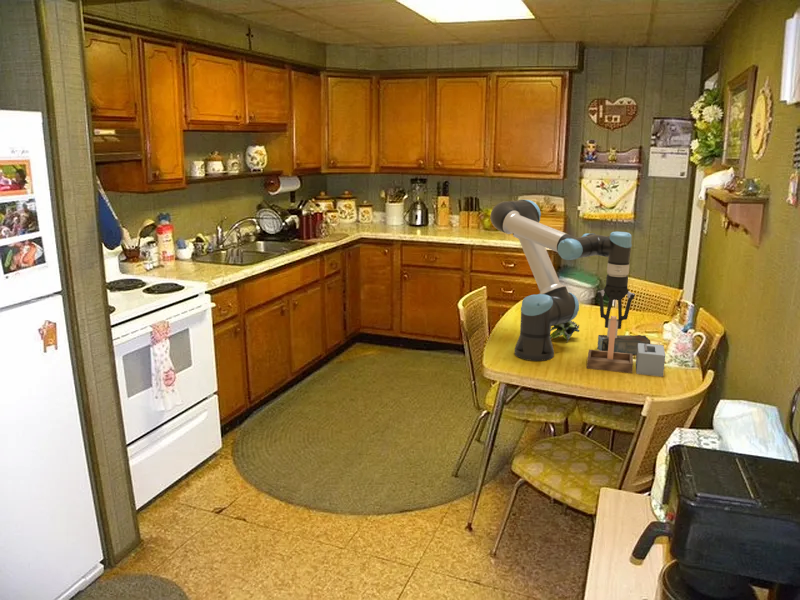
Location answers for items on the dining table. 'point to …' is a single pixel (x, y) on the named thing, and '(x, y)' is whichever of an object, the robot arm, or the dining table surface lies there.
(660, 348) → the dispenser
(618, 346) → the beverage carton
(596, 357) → the tray
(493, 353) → the dining table surface
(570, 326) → the green leafy plant
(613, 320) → the tan wooden bar
